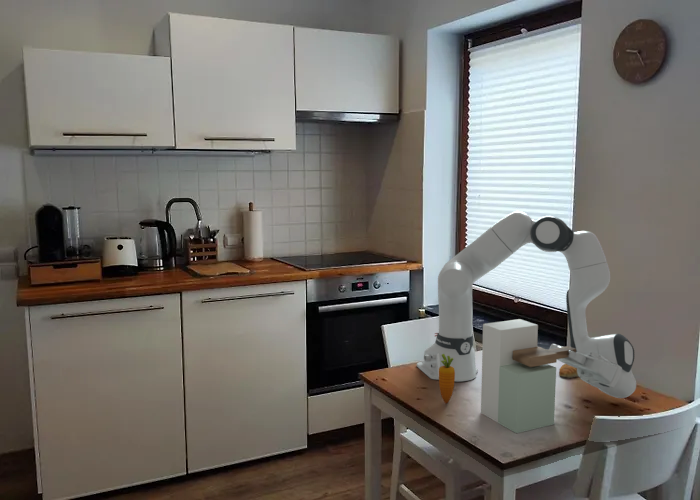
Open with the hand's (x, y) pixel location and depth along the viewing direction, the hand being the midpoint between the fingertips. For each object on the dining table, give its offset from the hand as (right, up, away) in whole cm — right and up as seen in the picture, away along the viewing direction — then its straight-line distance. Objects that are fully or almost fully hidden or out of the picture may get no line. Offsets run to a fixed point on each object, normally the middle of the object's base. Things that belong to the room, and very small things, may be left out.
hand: (563, 350), depth 166 cm
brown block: (-5, -2, -2) cm, 6 cm away
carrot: (-31, -18, +12) cm, 37 cm away
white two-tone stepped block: (-13, -19, +1) cm, 23 cm away
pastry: (+16, -15, +37) cm, 43 cm away
